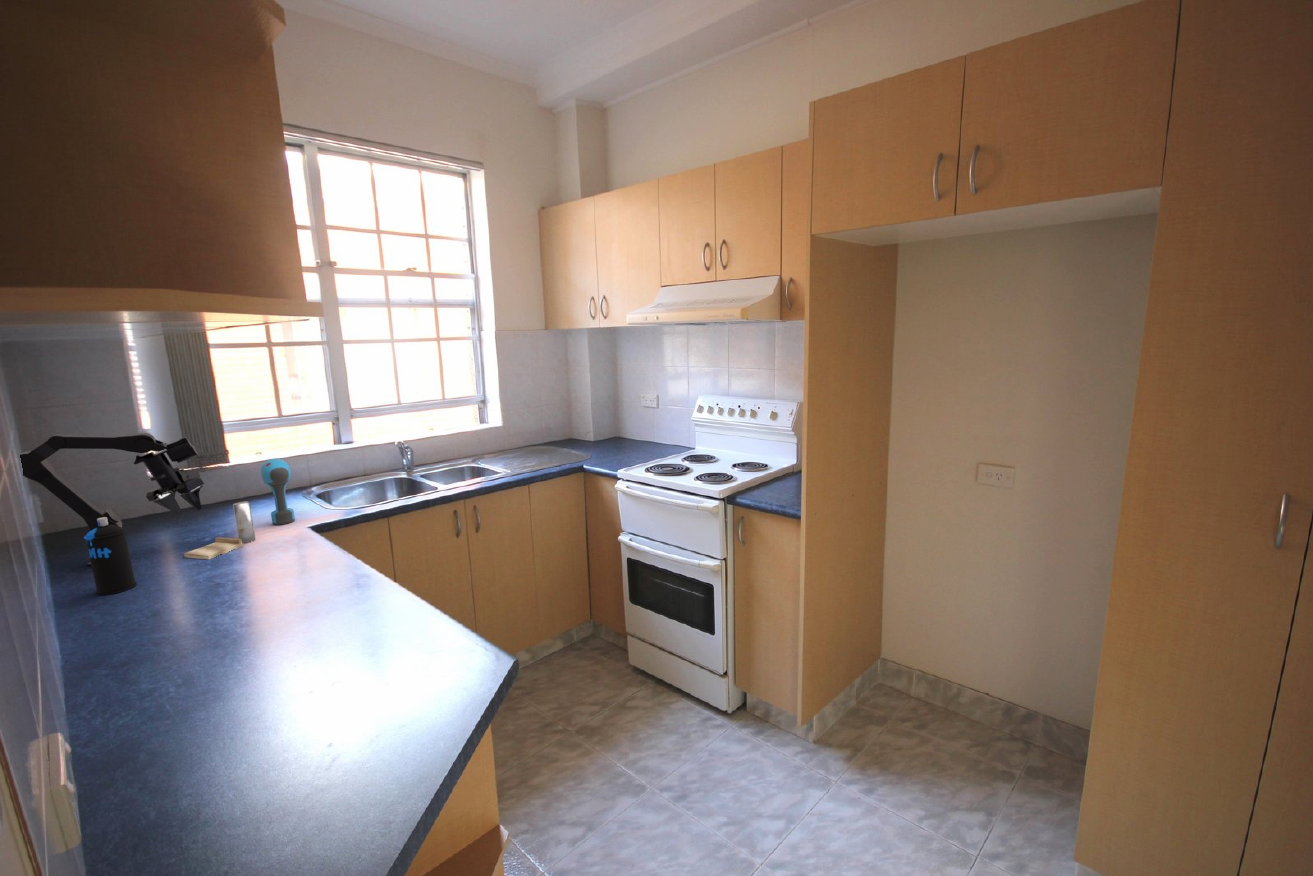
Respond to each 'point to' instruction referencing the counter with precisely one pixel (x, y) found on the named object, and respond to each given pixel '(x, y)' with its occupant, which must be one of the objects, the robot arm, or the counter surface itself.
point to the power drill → (278, 489)
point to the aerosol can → (110, 558)
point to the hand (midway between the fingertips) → (190, 511)
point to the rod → (244, 521)
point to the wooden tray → (215, 548)
